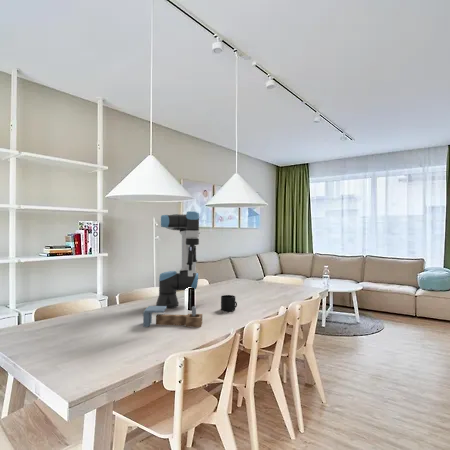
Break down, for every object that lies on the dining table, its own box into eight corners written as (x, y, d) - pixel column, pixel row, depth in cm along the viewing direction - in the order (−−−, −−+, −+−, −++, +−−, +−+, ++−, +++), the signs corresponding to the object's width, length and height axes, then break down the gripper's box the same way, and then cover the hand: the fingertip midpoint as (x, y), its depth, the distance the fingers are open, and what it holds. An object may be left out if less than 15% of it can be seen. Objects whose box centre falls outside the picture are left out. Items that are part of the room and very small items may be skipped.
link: (154, 326, 181) (154, 316, 181) (158, 321, 189) (158, 313, 189) (200, 327, 180) (201, 317, 180) (202, 322, 188) (202, 313, 188)
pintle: (190, 324, 184) (190, 306, 184) (193, 323, 186) (193, 306, 186) (194, 325, 182) (194, 307, 182) (196, 324, 184) (196, 306, 185)
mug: (232, 313, 210) (232, 299, 210) (217, 310, 217) (218, 296, 218) (241, 310, 217) (241, 296, 217) (227, 307, 225) (227, 294, 225)
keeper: (166, 321, 189) (166, 306, 189) (163, 327, 178) (163, 310, 178) (146, 321, 189) (147, 305, 189) (142, 327, 178) (142, 310, 178)
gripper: (196, 238, 180) (195, 277, 180) (201, 237, 205) (200, 271, 205) (182, 238, 180) (182, 277, 180) (189, 237, 205) (188, 271, 205)
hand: (191, 274), depth 192 cm, fingers open, 13 cm apart
